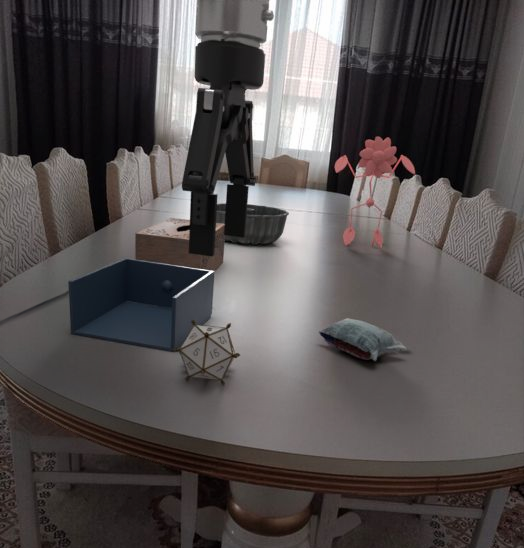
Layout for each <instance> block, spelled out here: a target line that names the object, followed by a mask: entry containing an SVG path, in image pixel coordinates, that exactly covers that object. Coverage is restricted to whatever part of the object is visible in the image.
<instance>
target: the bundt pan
mask: <svg viewBox="0 0 524 548" xmlns="http://www.w3.org/2000/svg"><path fill="white" fill-rule="evenodd" d="M225 210H226V202H225V203H224V202H222V203H217V215H216V223H221V224H225ZM289 214H290V212H289V211H287V210H286V209H281V208H277V207H273V206H266V205H259V204H258V205H257V204H250V203H247V216H246V229H245V237H244V238H242V237H235V236H227V235H225V241H226V242H232V243H233V244H237V243H241V244H245V245H246V244H247V245H248V244H250V243H251V244H252V245H253V246H254V245H255V246H256V245H258V244H259V245H260V244H261V245H265V244H273V243H275V242H277V241H278V240H279V239H280V238H281V236H282V235H283V234H284V230H285V227H286V222H287V218H288V216H289Z"/></svg>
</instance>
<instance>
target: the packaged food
mask: <svg viewBox="0 0 524 548" xmlns="http://www.w3.org/2000/svg"><path fill="white" fill-rule="evenodd" d="M318 333H319V335H320V336H321V337H322V338H323V339H324V341H325V342H326V343H327V344H328V345H329V346H332V347H334V348H335V349H338V350H341V351H343V352H345V353H347V354H348V355H349V354H350V355H351V356H354V357H356V358H359V359H361V360H365V361H368V360H372V361H374V362H377V360H378V357H382V356H384V355H387V354H390V353H395V352H399V351H404V352H406V351H407V347H406V346H405V345H404V344H403V343H402V342H401V341H400V340H398V339H395V337H394V336H393V334H392V333H390V332H388V331H386V330H384V329H383V328H381V327H379V326H377V325H375V324H374V325H373V324H370V323H369V322H366V321H364V320H359V319H353V318H352V319H351V318H350V317H347V318H345V319H342V320H340V321H338V322H335V323H332V324H331V325H330V326H328V327H325V328H323V329H321V330H319V331H318Z"/></svg>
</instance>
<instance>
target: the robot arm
mask: <svg viewBox="0 0 524 548" xmlns="http://www.w3.org/2000/svg"><path fill="white" fill-rule="evenodd" d="M195 9H196V11H195V31H194V32H195V36H196V38H197V39H199V40H200V42H198V43H197V45H196V46H194V47H195V49H194V74H193V75H194V76H193V78H194V80H195V81H196V83H198V84H200V85H204V86H209V88H205V87H198V89H197V92H196V103H195V104H196V106H195V114H194V119H193V125H192V128H191V129H192V130H191V134H190V140H189V146H188V150H187V155H186V160H185V166H184V170H183V176H182V181H181V190H182V191H183V192H190V206H189V207H190V208H189V220H190V230H189V253H190V254H197V255H205V256H214V251H215V233H216V215H217V204H218V193H215V190H216V187H217V183H218V179H219V176H220V173H221V172H220V171H221V168H222V165H223V163H224V162H223V161H224V158H225V160H226V166H227V171H228V178H229V183H227V184H226V194H225V195H226V197H225V203H226V210H225V227H224V235H227V236H235V237H242V238H244V237H245V229H246V216H247V204H249V203H248V202H249V188H250V186H251V187H255V186H256V182H257V178H256V177H255V172H254V171H255V170H254V169H255V168H254V143H253V142H254V140H253V139H254V138H253V109H254V104H253V103H254V102H253V101H252V100H246V91H248V90H249V91H250V90H251V91H254V90H259V89H262V87H263V86H264V81H265V70H266V68H265V67H266V57H267V54H266V53H265V51H264V50H263V49H262V48H261V47H262V46H264V45H265V44H266V43H267V38H268V22H271V21H273V20H274V18H275V15H274V11H273V10H271V9H270V0H196V8H195Z"/></svg>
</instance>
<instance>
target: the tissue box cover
mask: <svg viewBox="0 0 524 548" xmlns="http://www.w3.org/2000/svg"><path fill="white" fill-rule="evenodd" d="M224 227H225V224H221V223H216V233H215V251H214V256H205V255H197V254H190V253H189V230H190V219H185V218H176V217H169V218H166V219H164V220H162V221H160V222H157V223H155V224H153V225H151V226H149V227H145V228H144V229H142V230H139V231H137V232H135V234H134V237H135V239H134V240H135V241H134V242H135V243H134V245H135V246H134V248H135V249H134V251H135V252H134V253H135V255H134V258H135V260H142V261H149V262H156V263H162V264H169V265H176V266H183V267H190V268H196V269H203V270H210V271H214V273H215V272H216V271H217V270H218V269H219V268H220V267H221V266H222V265H223V263H224V254H225V235H224Z"/></svg>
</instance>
